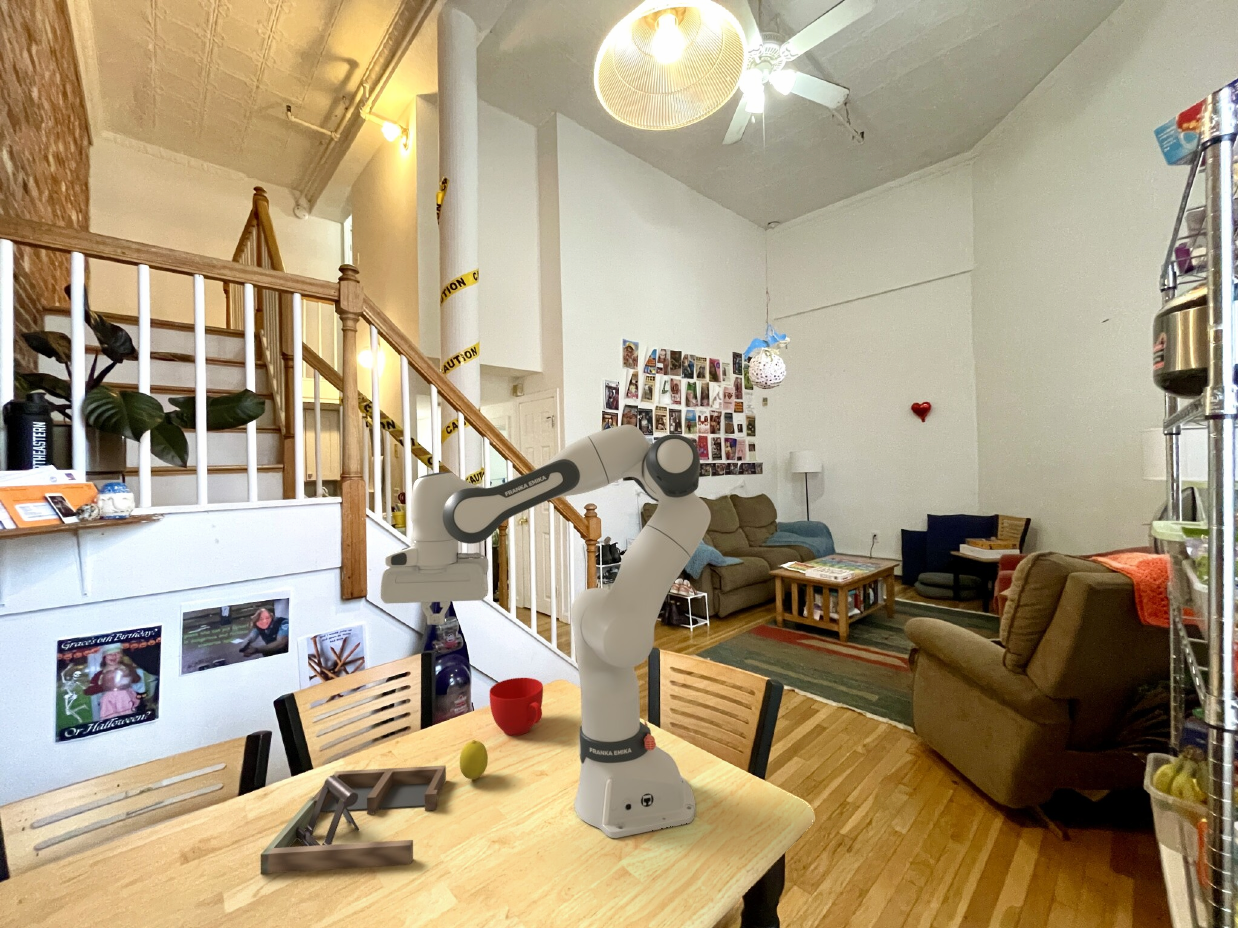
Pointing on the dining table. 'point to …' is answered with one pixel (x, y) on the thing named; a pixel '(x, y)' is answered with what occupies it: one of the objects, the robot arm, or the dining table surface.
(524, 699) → the ceramic cup
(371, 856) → the channel
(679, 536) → the robot arm
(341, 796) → the portable electronic device stand
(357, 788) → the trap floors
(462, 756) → the lemon
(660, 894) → the dining table surface
